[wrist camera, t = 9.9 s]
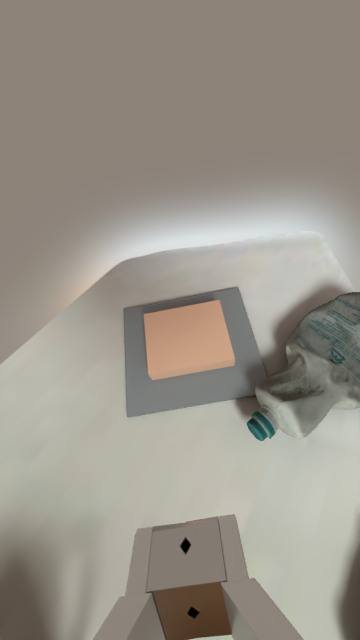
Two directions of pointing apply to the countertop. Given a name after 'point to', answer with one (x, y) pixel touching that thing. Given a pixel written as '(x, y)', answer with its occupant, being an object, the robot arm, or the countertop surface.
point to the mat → (194, 386)
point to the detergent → (313, 372)
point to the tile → (187, 340)
